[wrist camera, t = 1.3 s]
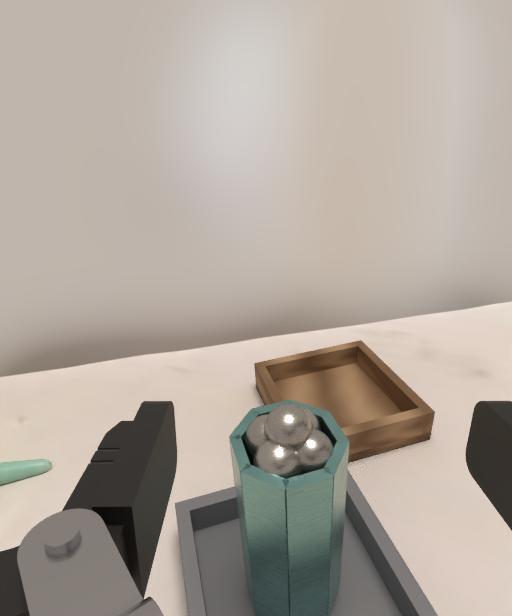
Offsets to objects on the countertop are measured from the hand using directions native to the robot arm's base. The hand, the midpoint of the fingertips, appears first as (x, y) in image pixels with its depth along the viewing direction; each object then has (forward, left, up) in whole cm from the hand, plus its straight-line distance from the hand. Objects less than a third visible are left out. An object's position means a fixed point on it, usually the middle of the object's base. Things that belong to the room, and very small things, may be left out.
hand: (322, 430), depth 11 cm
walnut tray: (-13, -24, -23) cm, 35 cm away
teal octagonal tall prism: (-2, -8, -22) cm, 23 cm away
